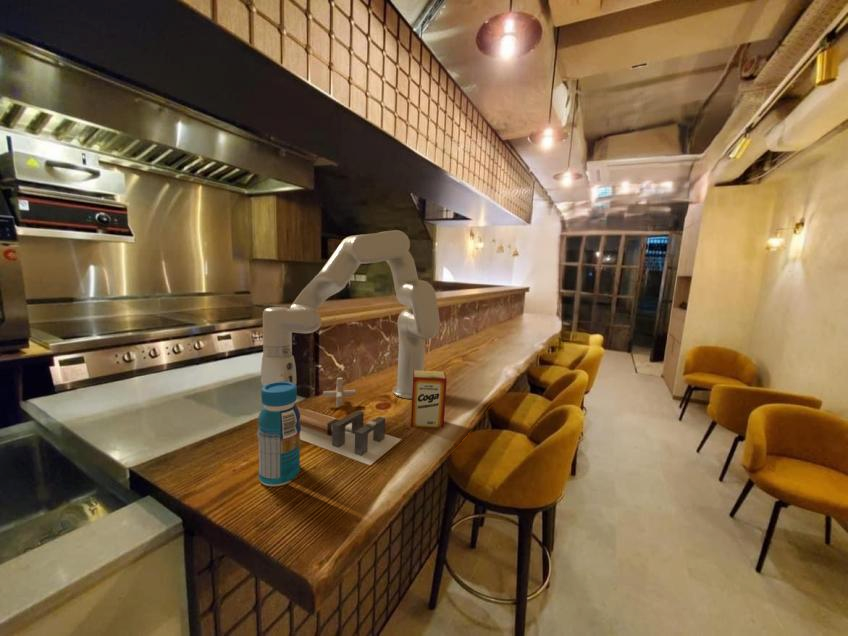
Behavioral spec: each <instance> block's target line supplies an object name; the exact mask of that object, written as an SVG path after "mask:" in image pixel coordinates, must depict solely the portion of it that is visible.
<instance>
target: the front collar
mask: <svg viewBox="0 0 848 636" xmlns="http://www.w3.org/2000/svg"><path fill="white" fill-rule="evenodd" d="M371 431H373V440H374V441H377V442H380V441H382V440H383V439H384V438H385V434H386V418H385V417H382V416H377V417H376V418H374V419H372V420H369V421H366V422H365V425H363V427H362V428H360V429H359V430H357V431H355V454H357V455H360V456H362V455H363V454H365V453H366V452H367V449H368V433H370V432H371Z"/></svg>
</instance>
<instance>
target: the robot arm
mask: <svg viewBox="0 0 848 636" xmlns="http://www.w3.org/2000/svg"><path fill="white" fill-rule="evenodd" d="M410 247H411V242H410V238H409V236H408V235H407V234H406V233H405V232H403V231H401V230H398V229H395V230H394V229H393V230H387V231H380V232H375V233H367V234H366V233H365V234H356V235H350V236H347V237H345V238H344V239H343V240H341V242H340V243H339V245H338V246H337V248H336V249H335V250H334V251H333V253H332V255H331V256H330V258H329V259H328V260H327V262H326V263H325V264H324V265H323V267H322V269H320V271H319V272H318V274H316V275H315V276H314V277H313V279H312V280H311V281H310V282H309V283H308V284H306V286H305V287H304V288H303V289H302V290H301V291H300V293H299V294H298V296H296V298H295V300H294V301H293V302H292V304H291V305H290V306H289V308H288V307H284V306H283V307H281V306H271V307H270V306H269V307H266V308H265V309H263V312H262V344H263V345H262V358H261V367H260V382H261V386H262V387H264V386H265V385H267V384H270V383H275V382H290V383H293V384H295V385H296V386H297V369H296V362H295V357H294V355H293V354H292V353H293V349H292V348H293V347H292V346H293V344H292V342H293V339H292V337H293V336H292V333H296V334H311V333H314V332H316V331H318V330H319V329H320V327H321V326H322V320H323V319H322V316H321V314H320V313H319V312H318V309H319V308H320V307H321V305H322V304H323V303H324V302H325V301H327V299H329V298H330V297H331V296H333V295H335V294H337V293H339V292H341V291H343V289H345V288H346V286H347V284H348V283H349V281H350V280H351V278H353V275H354V274H355V273H356V271H357V270H358V269H359V267H360V266H361V265H362V264H364V265H365V264H375V263H380V262H386V263H387V265H388V266H389V269H390V270H391V274H392V280H393V284H394V285H393V286H394V290H395V296H396V300H397V301H398V303H399V304H401V305H403V306H405V307H409V308H406V309H404V310H402V311H401V312H400V313H399V315H398V318H397V322H396V323H397V325H396V326H397V332H398V357H397V378H396V379H397V380H396V386H394V387H392V394H393V393H394V394H395V395H394V394H393V395H394V396H396V397H398V396H399V397H398V398H401V397H402V398H401V399H409V400H410V399H411V400H412V386H413V370H418V371H425V370H424V369H425V368H424V366H425V352H426V350H425V349H426V344H425V340H431V339H434V338H435V337H436V336H437V335H438V333H439V331H440V324H441V322H440V320H441V319H440V314H439V306H438V300H437V294H436V291H435V289H434V287H433V286H432V284H431V283H430V282H428V281H426V280H421V279H419V277H418V273H417V267H416V263H415V259H414V257H413V256H412V254H411V252H410V251H409V250H410Z"/></svg>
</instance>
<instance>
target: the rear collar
mask: <svg viewBox="0 0 848 636" xmlns="http://www.w3.org/2000/svg"><path fill="white" fill-rule="evenodd" d="M364 417H365V411H361V410H359V409H358V410H356V411H353V412H352V413H350V414H349V415H346V416H345V417H342V418H341V419H339V421H337V422H336V423H334V424H333V426H332V446H335V447H338V448H339V447H340V446H342V445H343V444H345V426H347V425H348V424H350V423H352V433H353V434H355V431H357V430H359V429H360V428H362V427H363V426H364Z"/></svg>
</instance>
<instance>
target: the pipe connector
mask: <svg viewBox="0 0 848 636" xmlns="http://www.w3.org/2000/svg"><path fill="white" fill-rule="evenodd" d="M343 380H344V379H343V377H337V378H336V388H335V389H336V390H323V392H322V398H329V397H332V398H333V397H336V401H335V403H336V404H335V405H336V406H337V407H342V406H343V400H344V399H343V397H350V396H356V395H357V394H356V393H357V392H356V389H345V390H343V389H344V388H343V385H344V384H343V383H344V381H343Z"/></svg>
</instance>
